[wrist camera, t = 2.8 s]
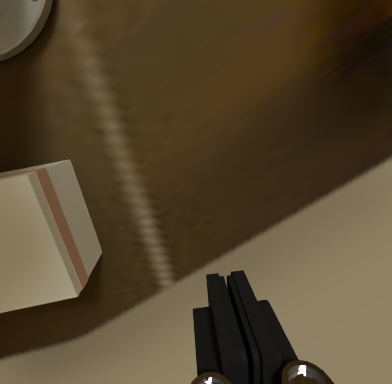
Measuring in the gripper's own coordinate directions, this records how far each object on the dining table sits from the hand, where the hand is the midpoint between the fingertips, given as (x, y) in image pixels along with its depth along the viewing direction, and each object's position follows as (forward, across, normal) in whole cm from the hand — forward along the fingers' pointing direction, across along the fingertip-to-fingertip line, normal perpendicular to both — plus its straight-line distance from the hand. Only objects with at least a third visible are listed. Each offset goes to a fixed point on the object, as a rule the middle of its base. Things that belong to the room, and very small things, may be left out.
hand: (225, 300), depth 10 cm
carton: (+12, +15, -1) cm, 19 cm away
